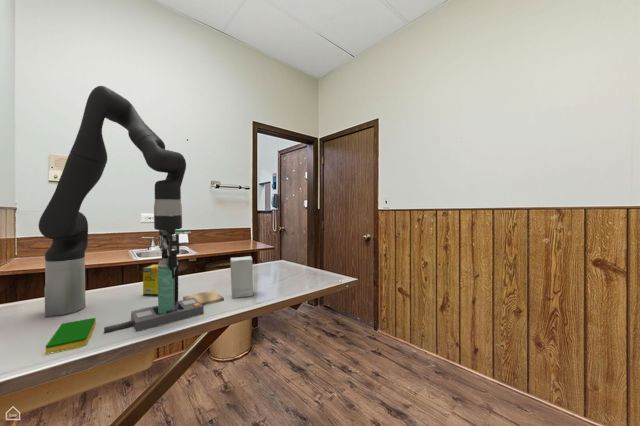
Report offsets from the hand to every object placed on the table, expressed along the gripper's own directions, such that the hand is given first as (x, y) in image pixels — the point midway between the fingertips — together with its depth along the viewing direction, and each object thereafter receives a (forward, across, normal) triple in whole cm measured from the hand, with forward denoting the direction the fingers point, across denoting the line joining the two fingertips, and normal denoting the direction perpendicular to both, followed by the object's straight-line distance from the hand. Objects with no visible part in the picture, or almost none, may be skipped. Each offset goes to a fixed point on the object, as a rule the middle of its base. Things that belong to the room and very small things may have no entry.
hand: (169, 265), depth 80 cm
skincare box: (+17, -3, +26) cm, 31 cm away
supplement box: (+16, -27, +1) cm, 32 cm away
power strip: (+16, 0, -4) cm, 17 cm away
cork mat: (+16, -7, +13) cm, 22 cm away
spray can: (+16, 0, 0) cm, 17 cm away
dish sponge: (+17, -2, -22) cm, 28 cm away
